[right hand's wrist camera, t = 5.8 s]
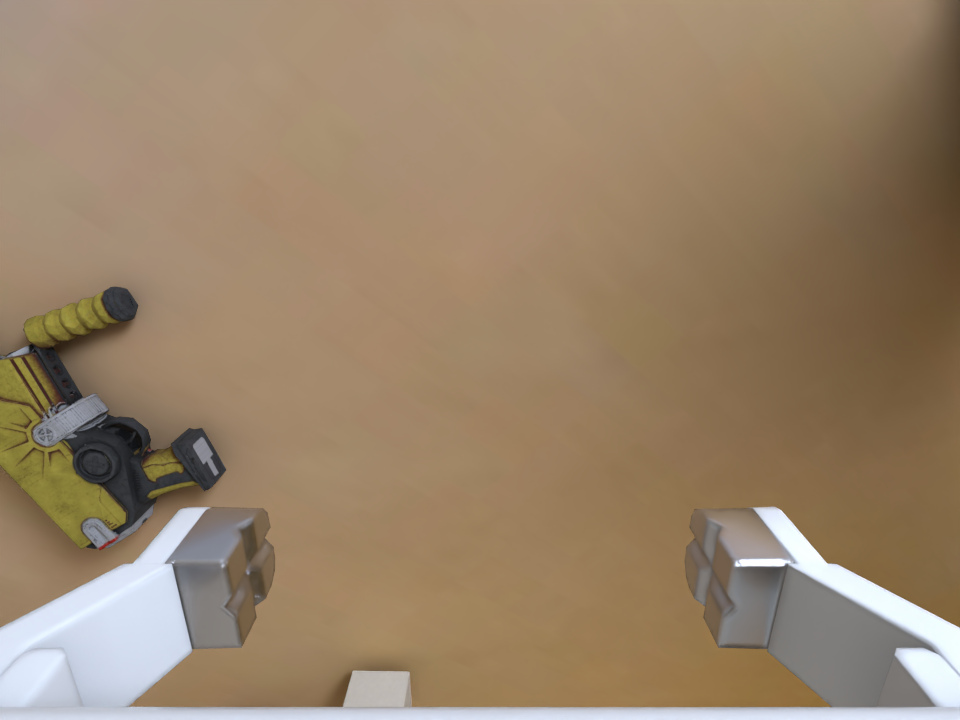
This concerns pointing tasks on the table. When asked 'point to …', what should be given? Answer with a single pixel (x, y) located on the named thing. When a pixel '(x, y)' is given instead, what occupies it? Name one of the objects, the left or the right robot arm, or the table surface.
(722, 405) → the table surface
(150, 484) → the toy gun
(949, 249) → the table surface
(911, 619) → the right robot arm
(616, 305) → the table surface
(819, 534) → the table surface
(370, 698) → the brick
